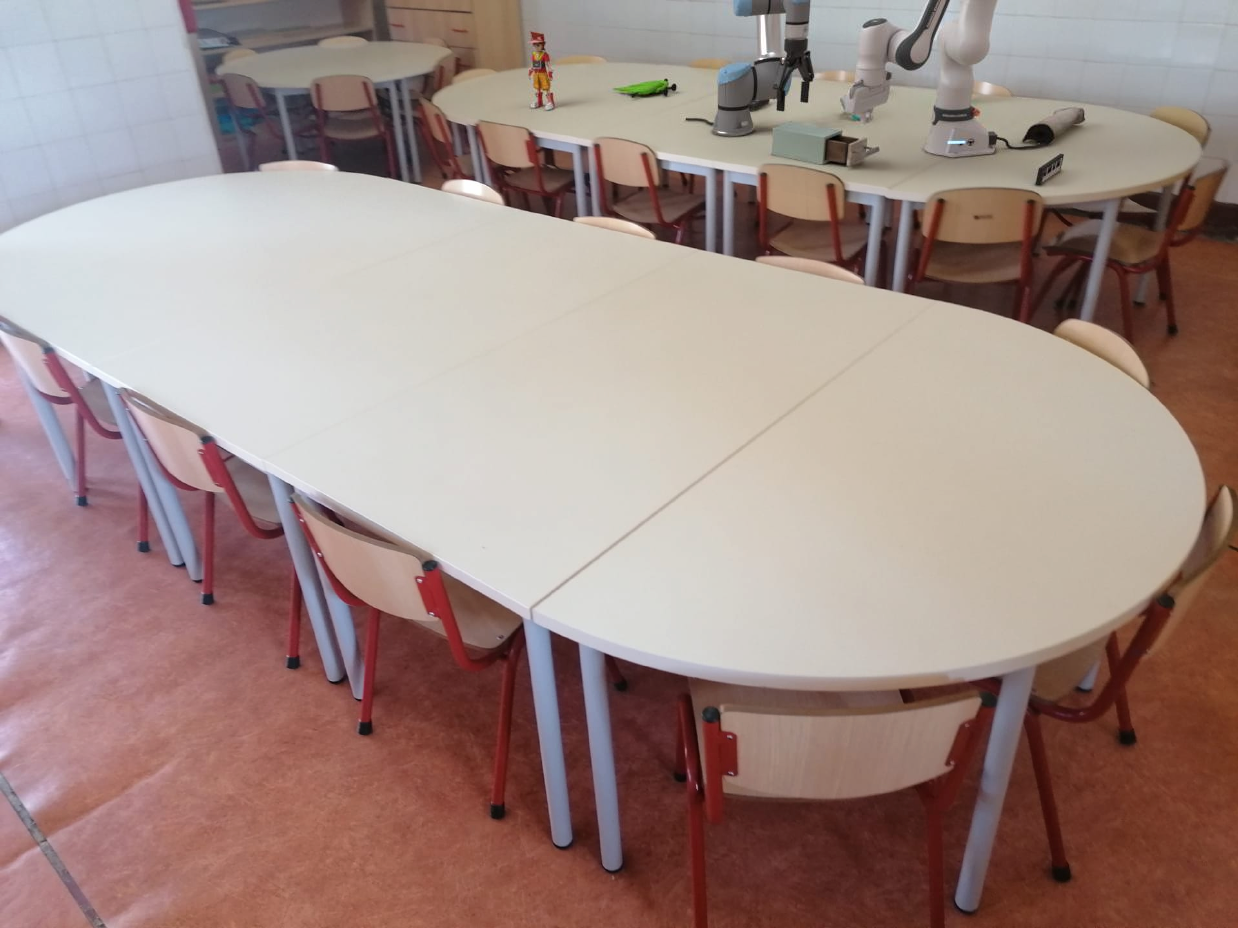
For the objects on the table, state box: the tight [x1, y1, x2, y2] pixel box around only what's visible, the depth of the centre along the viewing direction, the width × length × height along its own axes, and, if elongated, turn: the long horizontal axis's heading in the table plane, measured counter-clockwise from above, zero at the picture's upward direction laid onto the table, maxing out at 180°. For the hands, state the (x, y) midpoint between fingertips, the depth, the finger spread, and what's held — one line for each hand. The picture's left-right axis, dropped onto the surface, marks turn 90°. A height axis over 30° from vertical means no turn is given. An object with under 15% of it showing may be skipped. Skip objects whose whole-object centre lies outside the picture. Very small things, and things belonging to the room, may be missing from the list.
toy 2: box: [612, 78, 677, 99], centre depth 396 cm, size 28×5×30 cm
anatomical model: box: [839, 93, 874, 121], centre depth 343 cm, size 15×10×10 cm
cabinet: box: [771, 120, 843, 165], centre depth 304 cm, size 21×11×9 cm, turn 46°
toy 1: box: [527, 31, 556, 111], centre depth 374 cm, size 12×9×30 cm
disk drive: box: [749, 99, 771, 111], centre depth 365 cm, size 10×3×15 cm
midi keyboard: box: [1035, 153, 1065, 186], centre depth 273 cm, size 18×1×5 cm, turn 138°
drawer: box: [824, 134, 881, 167], centre depth 296 cm, size 25×9×7 cm, turn 46°
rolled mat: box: [1021, 106, 1086, 146], centre depth 311 cm, size 30×9×10 cm
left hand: (792, 106), depth 302 cm, fingers open, 13 cm apart
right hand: (864, 123), depth 286 cm, fingers closed
